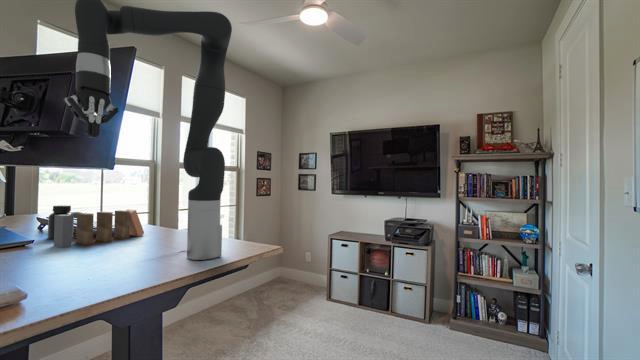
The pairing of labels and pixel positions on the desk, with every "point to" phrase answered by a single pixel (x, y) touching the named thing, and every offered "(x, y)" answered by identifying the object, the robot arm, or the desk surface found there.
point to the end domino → (63, 231)
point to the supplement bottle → (57, 211)
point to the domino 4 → (135, 224)
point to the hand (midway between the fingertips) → (92, 137)
